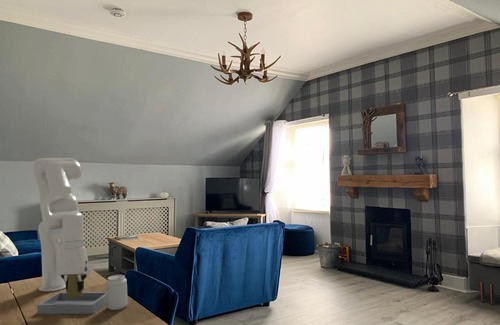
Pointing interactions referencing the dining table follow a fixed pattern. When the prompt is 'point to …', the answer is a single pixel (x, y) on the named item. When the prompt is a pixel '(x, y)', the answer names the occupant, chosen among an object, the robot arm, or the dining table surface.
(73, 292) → the pepper mill
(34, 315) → the dining table surface
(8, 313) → the dining table surface
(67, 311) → the tray
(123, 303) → the can
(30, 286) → the dining table surface
